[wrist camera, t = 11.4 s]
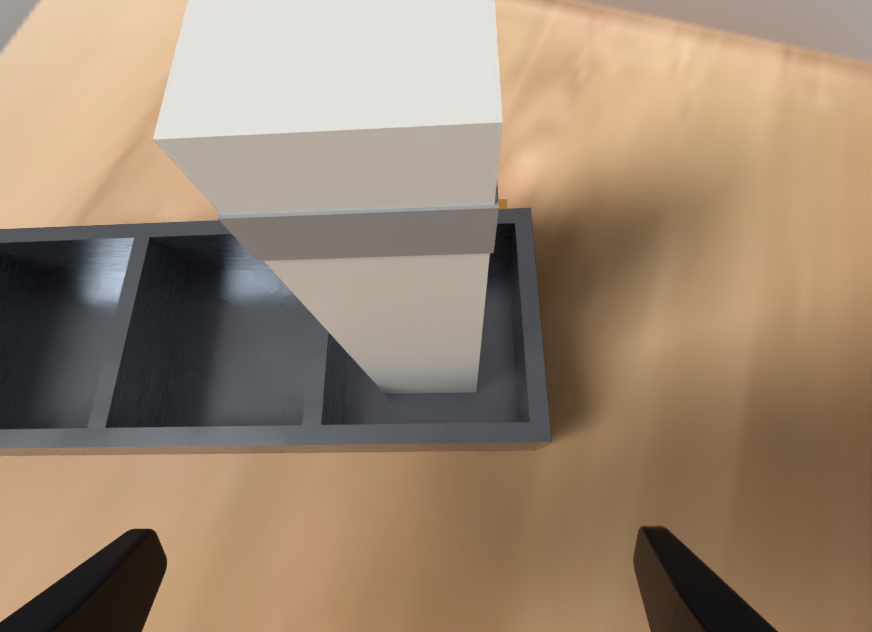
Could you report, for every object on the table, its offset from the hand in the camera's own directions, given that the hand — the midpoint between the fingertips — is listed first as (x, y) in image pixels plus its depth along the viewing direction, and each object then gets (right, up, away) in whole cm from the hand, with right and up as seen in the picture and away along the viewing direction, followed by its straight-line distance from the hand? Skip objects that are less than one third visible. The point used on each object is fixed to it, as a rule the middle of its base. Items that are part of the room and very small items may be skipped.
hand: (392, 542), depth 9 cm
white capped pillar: (+1, +3, +10) cm, 10 cm away
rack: (-6, +3, +11) cm, 13 cm away
